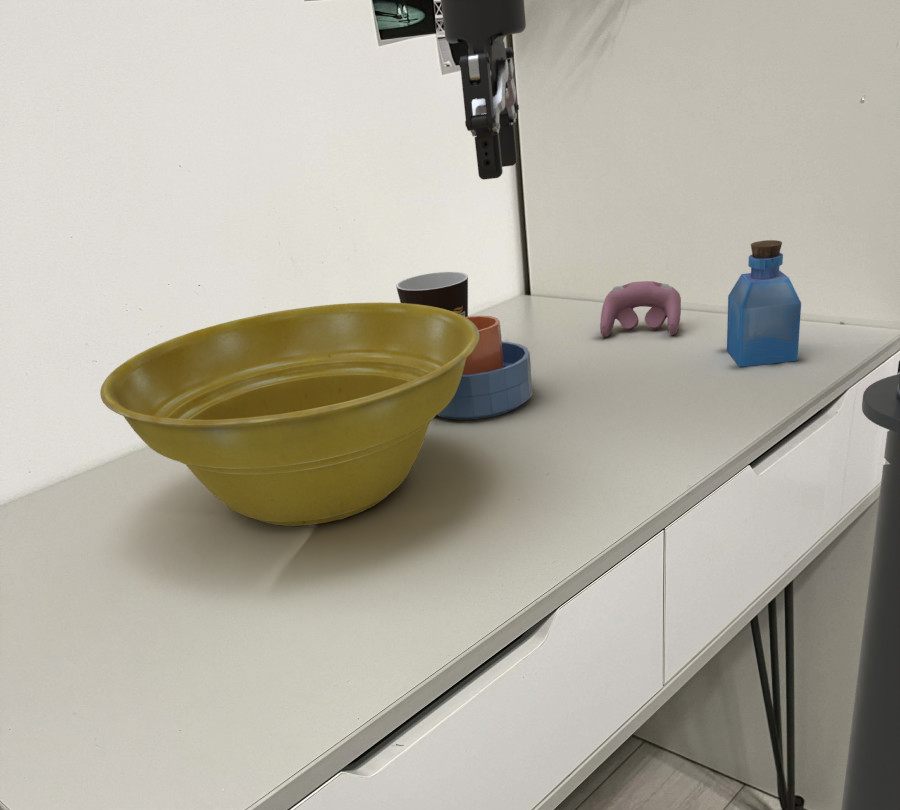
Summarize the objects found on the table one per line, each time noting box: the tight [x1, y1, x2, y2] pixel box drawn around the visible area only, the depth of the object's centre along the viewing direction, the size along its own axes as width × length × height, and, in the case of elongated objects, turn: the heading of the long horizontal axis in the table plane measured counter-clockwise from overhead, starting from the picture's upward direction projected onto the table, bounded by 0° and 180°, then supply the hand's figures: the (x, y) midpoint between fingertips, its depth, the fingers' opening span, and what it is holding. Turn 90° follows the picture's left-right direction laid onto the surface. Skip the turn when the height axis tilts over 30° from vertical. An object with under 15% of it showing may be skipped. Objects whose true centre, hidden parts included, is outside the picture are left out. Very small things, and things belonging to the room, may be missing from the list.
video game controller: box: [599, 280, 682, 338], centre depth 119 cm, size 10×5×7 cm, turn 72°
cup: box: [462, 315, 504, 375], centre depth 102 cm, size 6×6×8 cm
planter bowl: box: [99, 302, 479, 527], centre depth 85 cm, size 32×32×13 cm
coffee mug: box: [395, 271, 469, 317], centre depth 116 cm, size 12×9×10 cm
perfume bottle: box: [726, 239, 802, 368], centre depth 103 cm, size 6×6×12 cm
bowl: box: [436, 340, 534, 421], centre depth 103 cm, size 12×12×5 cm
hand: (499, 171), depth 94 cm, fingers open, 8 cm apart
